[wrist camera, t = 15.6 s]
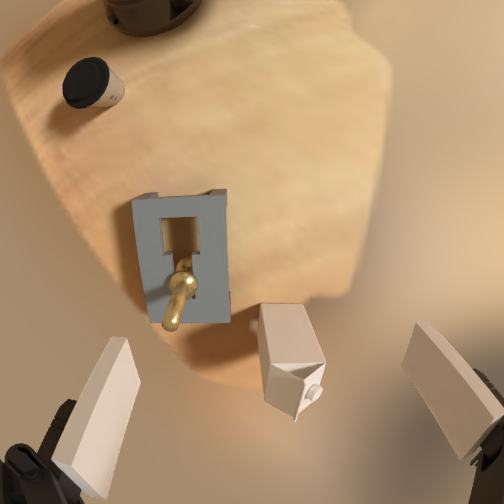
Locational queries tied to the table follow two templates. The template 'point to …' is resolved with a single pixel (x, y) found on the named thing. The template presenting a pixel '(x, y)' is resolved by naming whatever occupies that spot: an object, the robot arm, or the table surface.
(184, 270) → the brass t bolt
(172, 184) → the table surface
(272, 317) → the milk carton
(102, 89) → the coffee cup
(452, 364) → the robot arm
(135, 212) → the keyhole plate
